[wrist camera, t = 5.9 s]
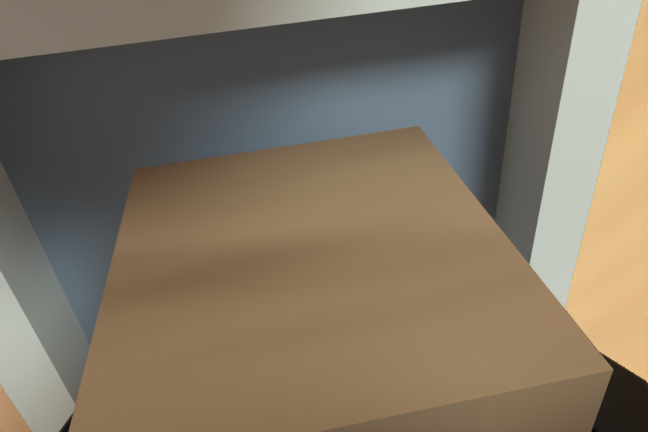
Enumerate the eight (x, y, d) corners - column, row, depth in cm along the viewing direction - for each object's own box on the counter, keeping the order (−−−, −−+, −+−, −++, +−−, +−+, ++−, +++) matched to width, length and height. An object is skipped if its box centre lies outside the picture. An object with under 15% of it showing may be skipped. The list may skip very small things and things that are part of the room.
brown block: (412, 339, 11) (560, 683, 7) (202, 380, 11) (196, 782, 6) (418, 125, 8) (684, 457, 4) (133, 168, 8) (24, 611, 3)
